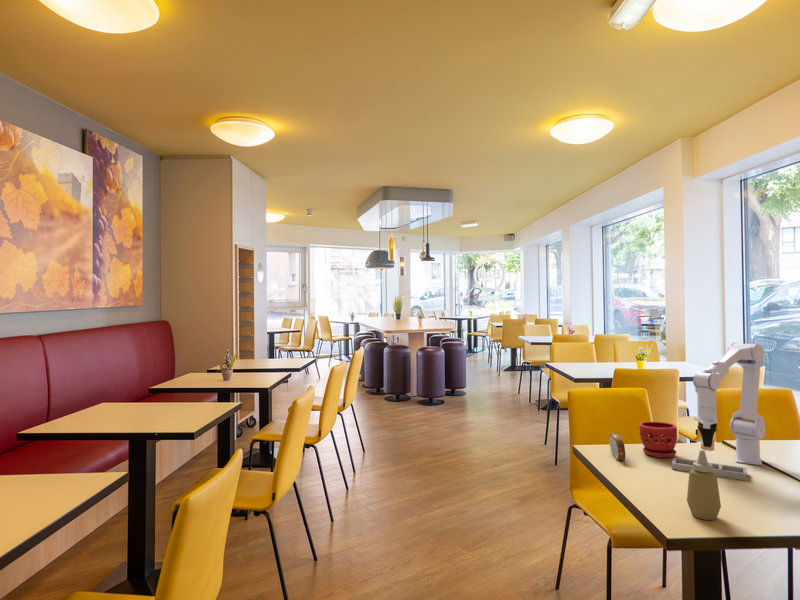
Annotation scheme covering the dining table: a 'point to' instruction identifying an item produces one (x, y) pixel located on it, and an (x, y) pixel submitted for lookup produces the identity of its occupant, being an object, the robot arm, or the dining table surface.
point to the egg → (707, 447)
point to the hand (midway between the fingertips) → (707, 445)
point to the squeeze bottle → (703, 490)
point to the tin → (617, 446)
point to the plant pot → (658, 438)
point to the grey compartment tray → (717, 469)
